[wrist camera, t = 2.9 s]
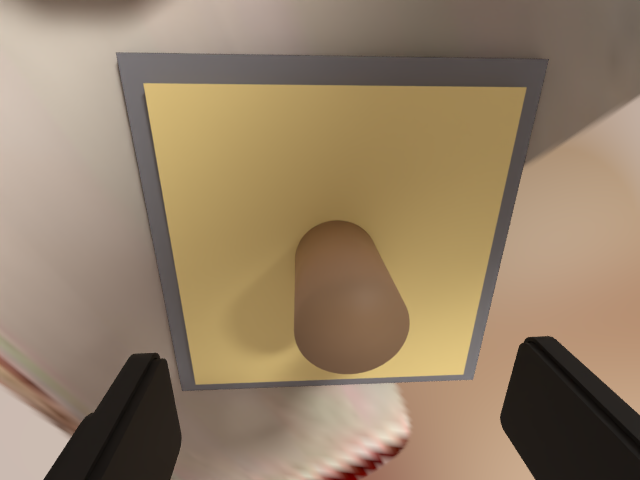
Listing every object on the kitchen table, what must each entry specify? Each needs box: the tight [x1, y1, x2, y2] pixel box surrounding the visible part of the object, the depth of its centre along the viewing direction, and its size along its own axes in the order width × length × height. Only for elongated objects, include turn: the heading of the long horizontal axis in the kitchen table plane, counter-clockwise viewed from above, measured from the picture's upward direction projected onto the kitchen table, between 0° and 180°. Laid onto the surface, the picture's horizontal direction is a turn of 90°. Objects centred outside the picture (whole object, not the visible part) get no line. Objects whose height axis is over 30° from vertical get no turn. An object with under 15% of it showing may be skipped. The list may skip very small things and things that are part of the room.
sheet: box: [143, 83, 527, 385], centre depth 13 cm, size 14×14×6 cm
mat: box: [116, 53, 549, 391], centre depth 16 cm, size 16×16×1 cm
